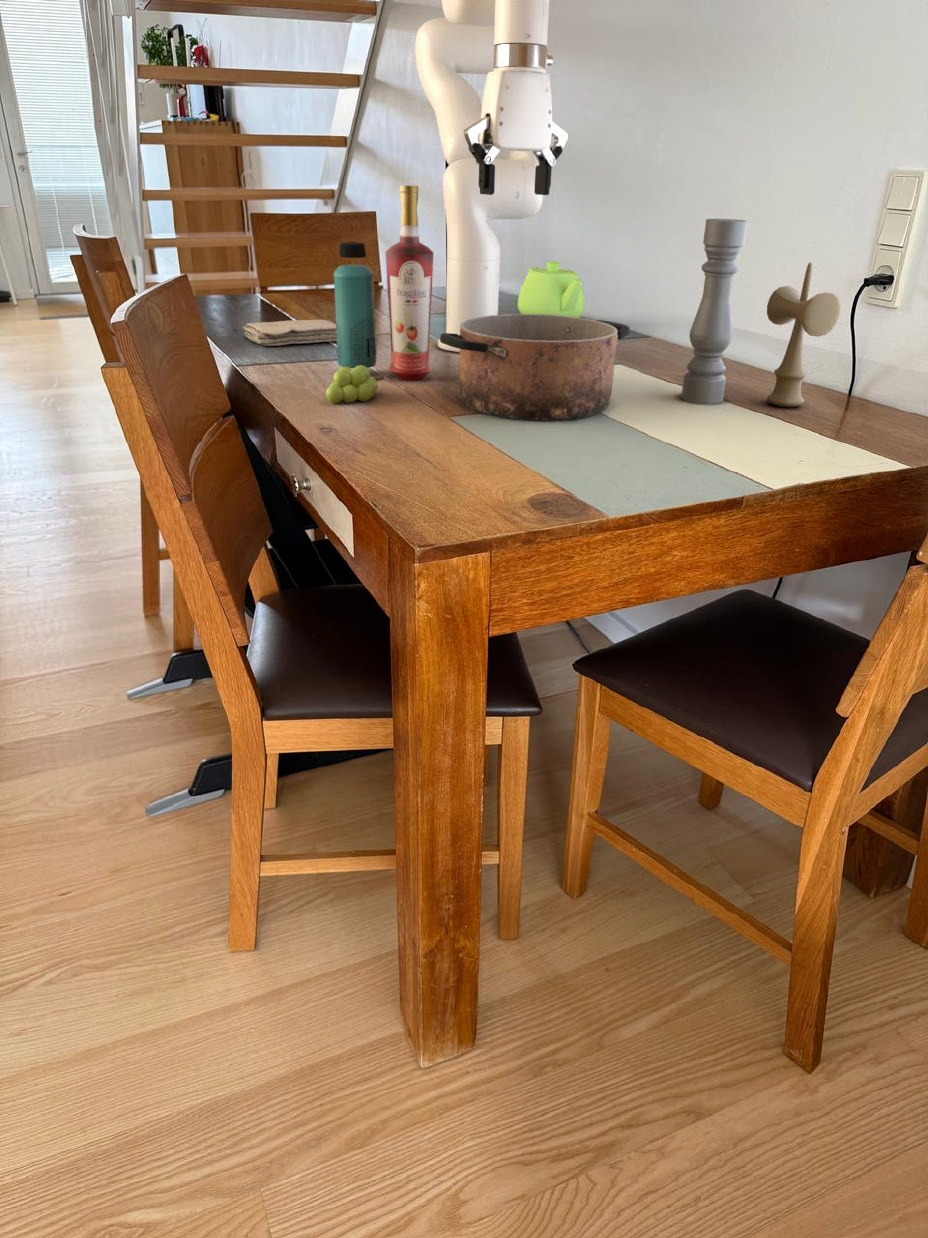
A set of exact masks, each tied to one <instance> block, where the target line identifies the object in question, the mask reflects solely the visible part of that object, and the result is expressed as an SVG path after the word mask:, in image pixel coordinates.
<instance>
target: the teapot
mask: <svg viewBox="0 0 928 1238" xmlns="http://www.w3.org/2000/svg"><path fill="white" fill-rule="evenodd" d="M560 266H561V262H559V261H547V262H546V267H547V268H540V267H538V266H537V267H529V268H528V273H527V275H526V277H525V279H524V282H523V283H522V286H521V287H520V290H519V295H518V299H517V309H518V311H519V314H543V315H558V316H569V317H578V318H582V315H583V314H584V311H585V307H586V306H585V295H584V291H583V287H582V285H583V279H582V280H581V279H579V277H578V273H576V271H573V270H569V269H564V268H563V269H562V268H560Z"/></svg>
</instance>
